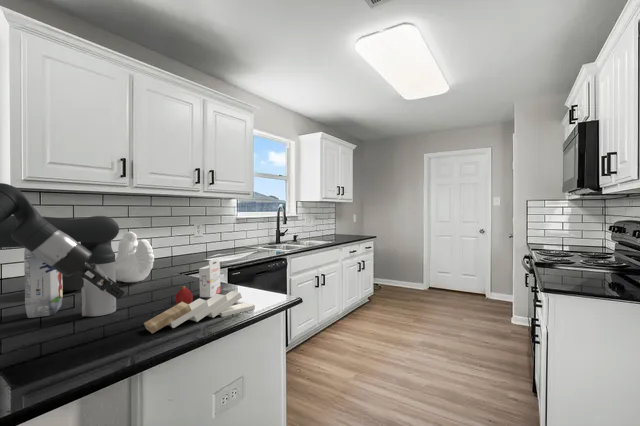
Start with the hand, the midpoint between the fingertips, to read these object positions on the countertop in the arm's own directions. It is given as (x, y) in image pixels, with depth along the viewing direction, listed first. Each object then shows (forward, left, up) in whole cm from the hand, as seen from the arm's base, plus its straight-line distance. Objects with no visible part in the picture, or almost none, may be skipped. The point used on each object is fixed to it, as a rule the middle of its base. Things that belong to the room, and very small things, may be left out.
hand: (119, 292), depth 87 cm
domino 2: (+17, +12, -12) cm, 24 cm away
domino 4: (+26, +16, -13) cm, 33 cm away
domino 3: (+22, +15, -12) cm, 29 cm away
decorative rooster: (-12, +85, -14) cm, 87 cm away
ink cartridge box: (+23, +45, -14) cm, 52 cm away
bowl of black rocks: (-36, +74, -14) cm, 83 cm away
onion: (+14, +28, -14) cm, 34 cm away
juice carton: (-31, +39, -14) cm, 52 cm away
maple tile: (+6, +7, -12) cm, 15 cm away
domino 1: (+11, +10, -12) cm, 19 cm away
